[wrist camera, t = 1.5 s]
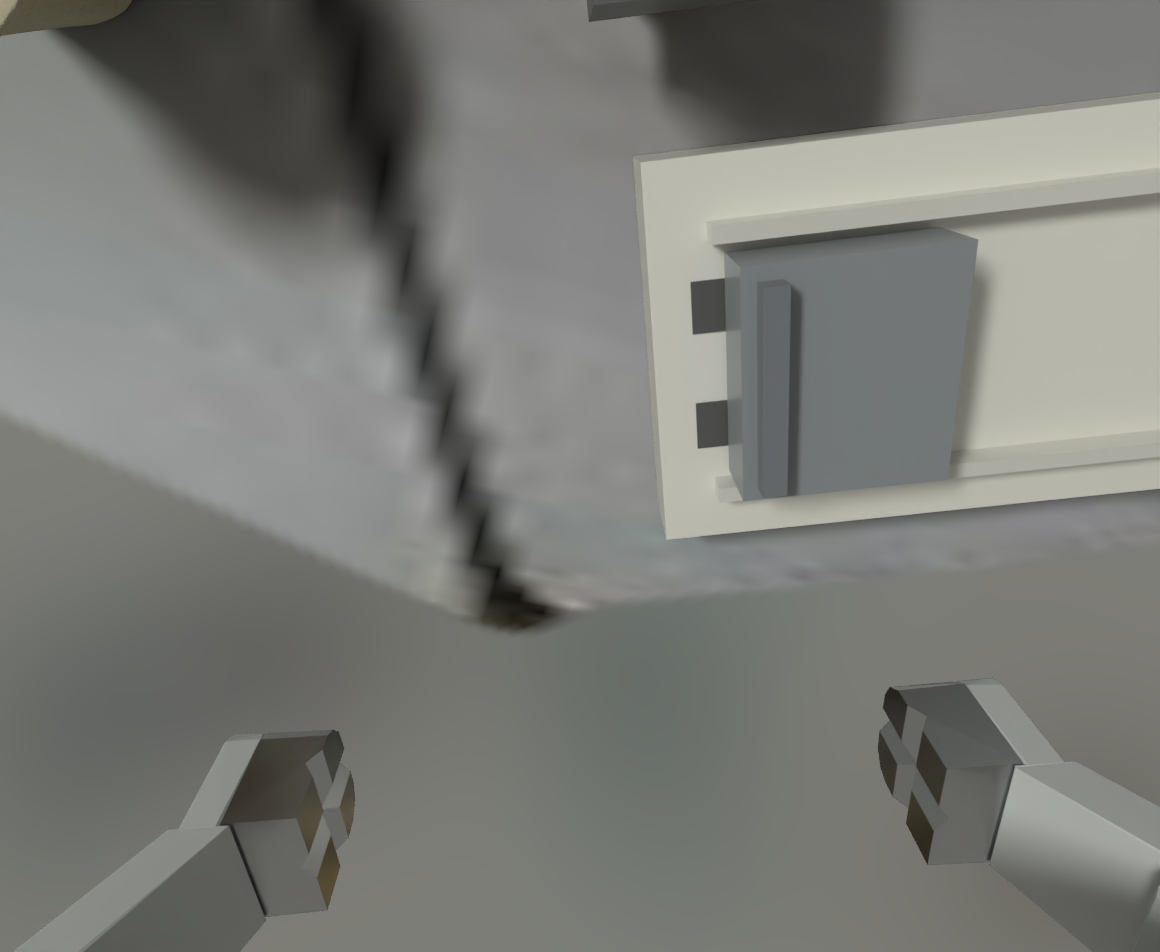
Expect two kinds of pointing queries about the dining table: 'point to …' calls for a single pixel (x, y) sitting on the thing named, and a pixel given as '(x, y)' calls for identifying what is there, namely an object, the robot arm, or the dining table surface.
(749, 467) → the cover
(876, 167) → the socket plate
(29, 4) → the flower pot
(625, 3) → the plug
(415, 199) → the dining table surface
